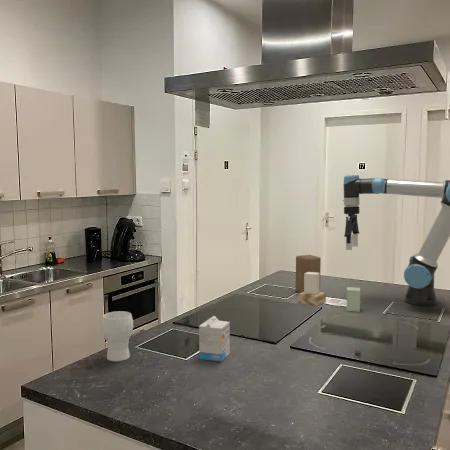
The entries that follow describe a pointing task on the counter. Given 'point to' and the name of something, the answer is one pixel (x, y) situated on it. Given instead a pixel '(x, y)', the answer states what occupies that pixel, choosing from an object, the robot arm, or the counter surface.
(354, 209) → the robot arm
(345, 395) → the counter surface
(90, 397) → the counter surface
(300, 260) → the wooden block
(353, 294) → the sage block
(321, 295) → the oak base
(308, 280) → the cream block
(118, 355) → the cup
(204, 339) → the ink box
